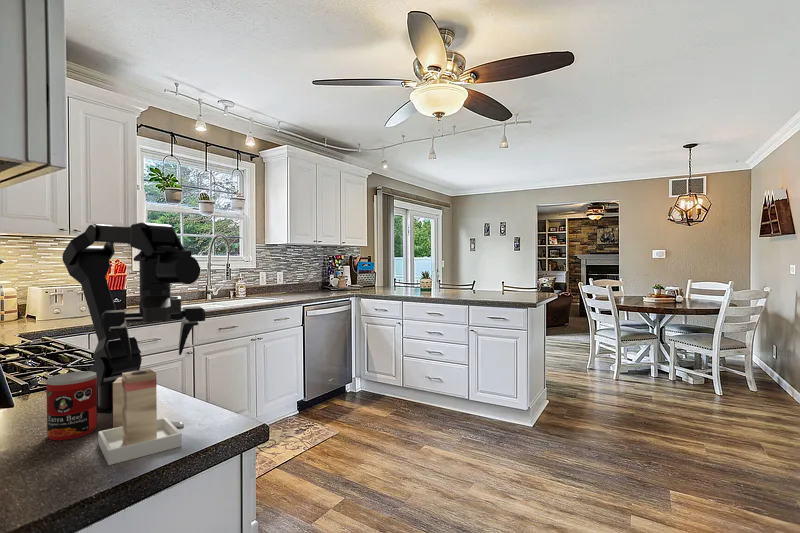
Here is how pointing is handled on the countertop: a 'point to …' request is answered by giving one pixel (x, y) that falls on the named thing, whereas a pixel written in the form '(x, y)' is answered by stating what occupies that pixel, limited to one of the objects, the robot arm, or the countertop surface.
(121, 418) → the block
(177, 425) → the pin gauge
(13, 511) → the countertop surface
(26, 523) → the countertop surface
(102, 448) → the tray
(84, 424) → the canned food
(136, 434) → the block
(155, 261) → the robot arm
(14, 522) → the countertop surface
